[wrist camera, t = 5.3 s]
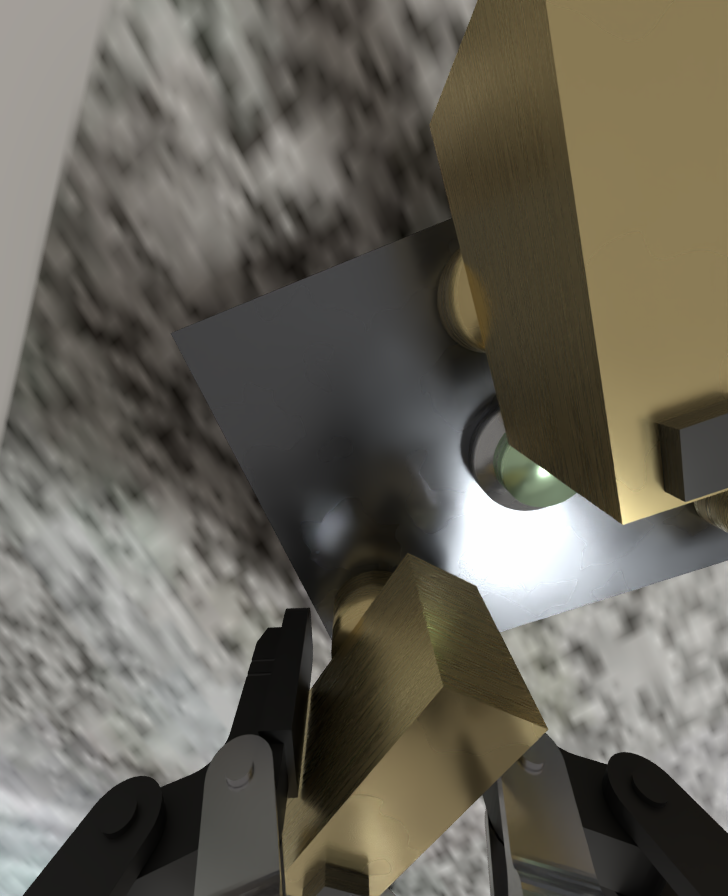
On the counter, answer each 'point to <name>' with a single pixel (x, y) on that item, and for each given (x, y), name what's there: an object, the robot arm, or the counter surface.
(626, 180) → the bar with square hole
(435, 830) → the knob
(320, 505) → the levelling plate
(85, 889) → the robot arm
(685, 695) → the counter surface
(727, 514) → the knob
